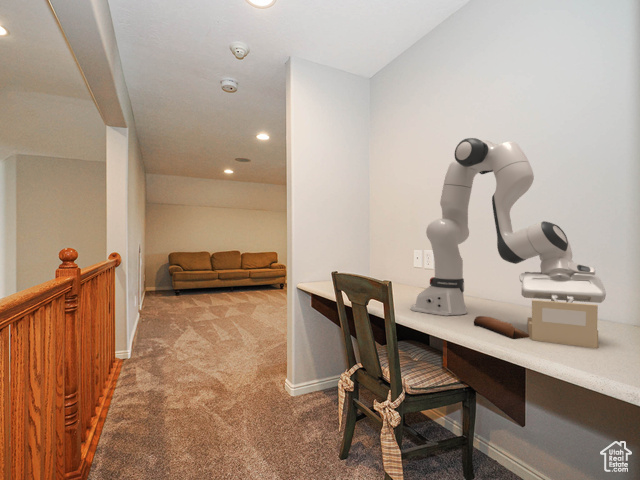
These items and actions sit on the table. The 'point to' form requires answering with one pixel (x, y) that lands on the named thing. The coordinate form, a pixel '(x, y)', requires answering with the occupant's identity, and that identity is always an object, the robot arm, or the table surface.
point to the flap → (565, 323)
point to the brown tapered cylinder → (500, 327)
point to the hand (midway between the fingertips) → (563, 310)
